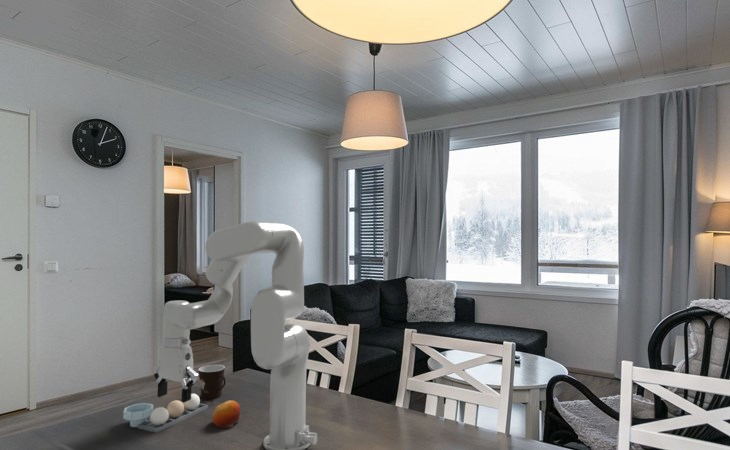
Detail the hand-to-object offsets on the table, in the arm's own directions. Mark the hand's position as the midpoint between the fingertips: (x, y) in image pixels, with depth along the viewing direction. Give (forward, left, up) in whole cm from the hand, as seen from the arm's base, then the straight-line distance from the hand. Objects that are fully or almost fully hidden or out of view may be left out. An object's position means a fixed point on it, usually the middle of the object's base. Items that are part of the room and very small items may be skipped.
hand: (174, 398), depth 138 cm
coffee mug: (+1, -18, -6) cm, 19 cm away
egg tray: (-1, 0, -6) cm, 6 cm away
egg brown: (-1, 0, -6) cm, 6 cm away
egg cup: (+5, +8, -6) cm, 11 cm away
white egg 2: (-1, -7, -6) cm, 9 cm away
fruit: (-18, -3, -6) cm, 19 cm away
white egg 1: (-1, +6, -6) cm, 9 cm away
